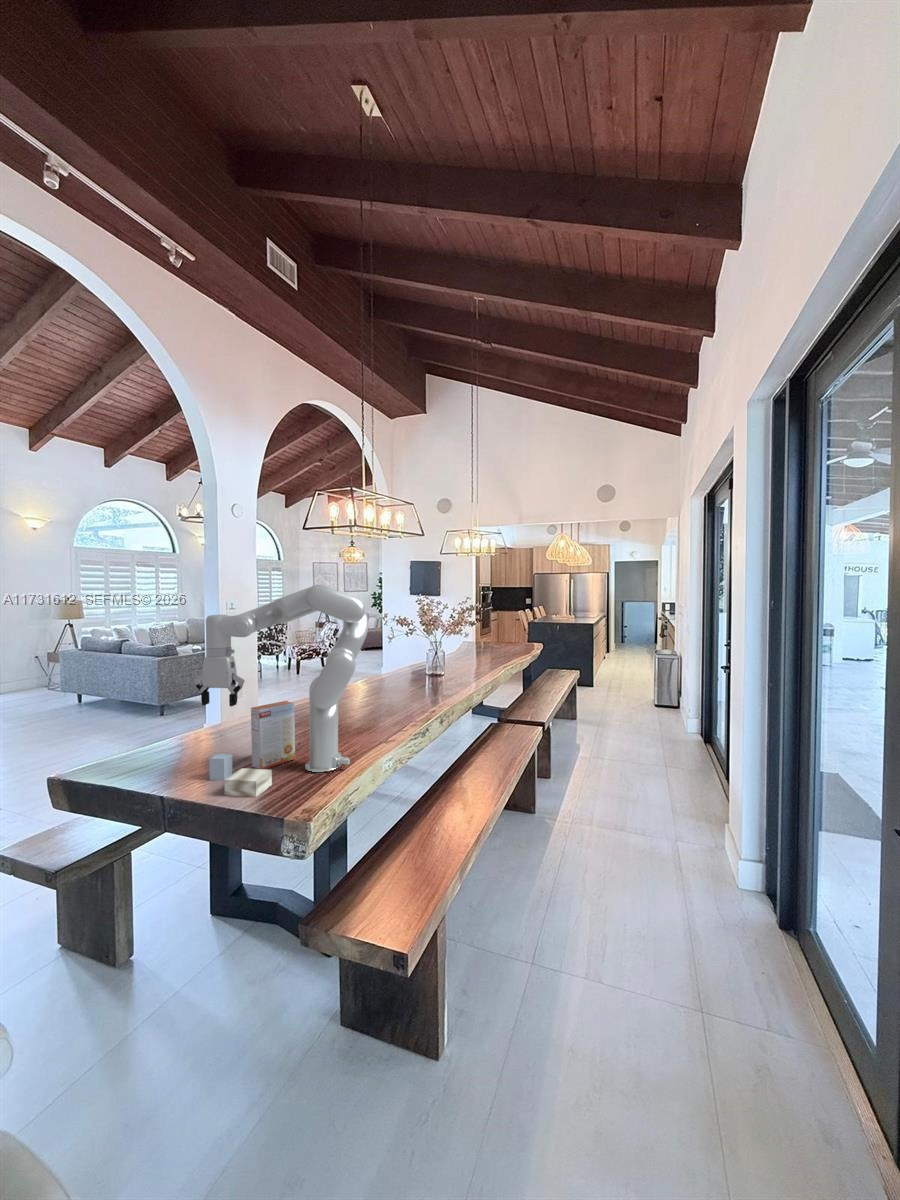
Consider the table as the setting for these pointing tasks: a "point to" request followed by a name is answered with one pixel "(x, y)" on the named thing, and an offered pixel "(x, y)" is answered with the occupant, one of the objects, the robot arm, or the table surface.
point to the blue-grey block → (220, 766)
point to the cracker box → (272, 734)
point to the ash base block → (248, 782)
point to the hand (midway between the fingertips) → (219, 704)
